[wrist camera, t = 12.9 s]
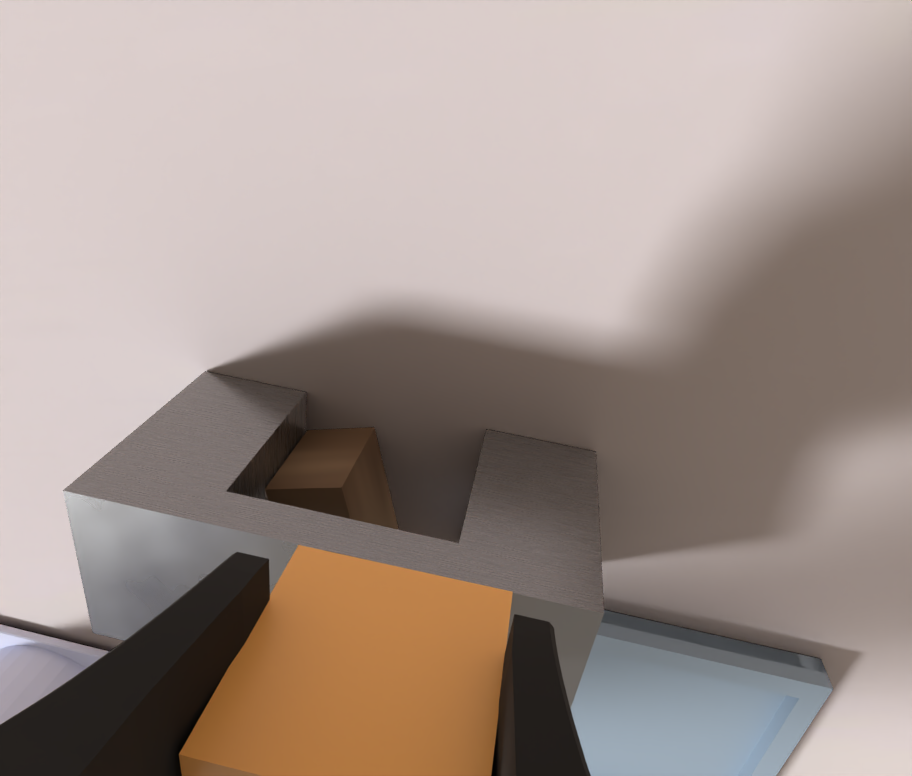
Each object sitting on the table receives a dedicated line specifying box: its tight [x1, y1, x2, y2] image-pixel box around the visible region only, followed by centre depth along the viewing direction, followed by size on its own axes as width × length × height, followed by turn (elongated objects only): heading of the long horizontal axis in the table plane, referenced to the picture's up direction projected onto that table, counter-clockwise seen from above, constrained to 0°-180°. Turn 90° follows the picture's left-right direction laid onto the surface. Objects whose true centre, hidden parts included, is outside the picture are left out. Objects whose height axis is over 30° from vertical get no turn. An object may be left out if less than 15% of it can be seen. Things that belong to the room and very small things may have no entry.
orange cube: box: [179, 545, 513, 776], centre depth 12 cm, size 4×4×4 cm
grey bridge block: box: [63, 371, 604, 709], centre depth 19 cm, size 5×13×7 cm, turn 82°
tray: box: [571, 610, 833, 776], centre depth 24 cm, size 10×10×1 cm
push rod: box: [265, 427, 399, 530], centre depth 22 cm, size 13×2×4 cm, turn 8°
